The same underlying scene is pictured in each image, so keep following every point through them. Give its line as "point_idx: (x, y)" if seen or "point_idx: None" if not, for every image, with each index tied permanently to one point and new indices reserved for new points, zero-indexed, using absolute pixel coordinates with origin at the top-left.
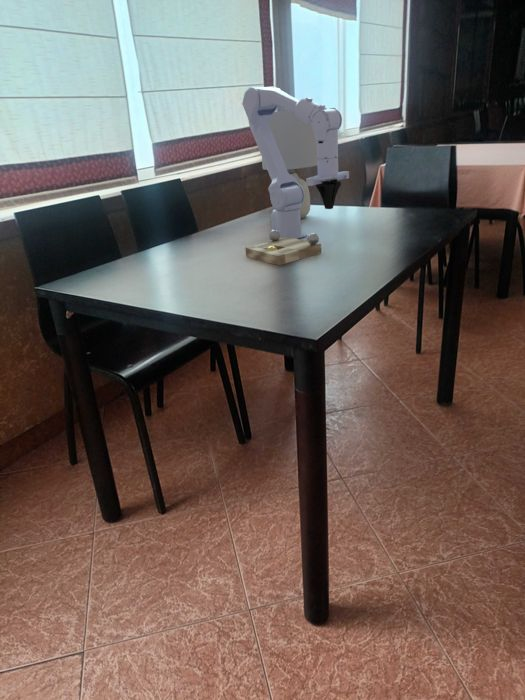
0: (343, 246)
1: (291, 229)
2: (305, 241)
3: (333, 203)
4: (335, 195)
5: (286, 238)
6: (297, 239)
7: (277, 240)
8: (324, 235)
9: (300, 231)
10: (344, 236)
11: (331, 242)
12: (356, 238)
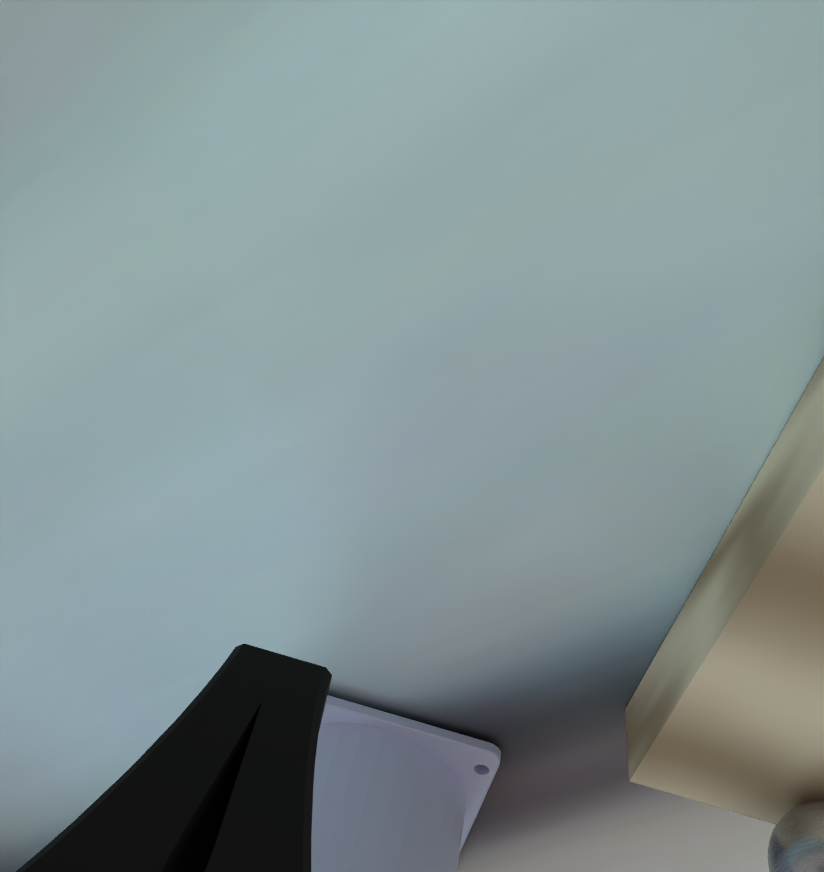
0: (487, 146)
1: (418, 825)
2: (808, 545)
3: (209, 712)
4: (72, 856)
5: (699, 760)
6: (721, 657)
7: (804, 800)
8: (170, 567)
9: (318, 755)
10: (95, 376)
11: (372, 384)
12: (89, 199)
